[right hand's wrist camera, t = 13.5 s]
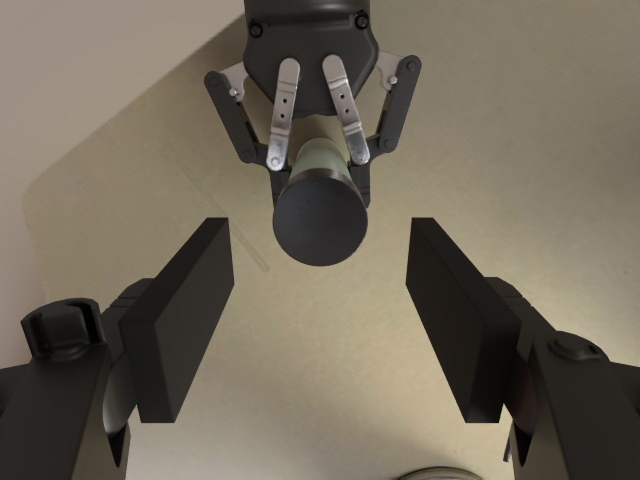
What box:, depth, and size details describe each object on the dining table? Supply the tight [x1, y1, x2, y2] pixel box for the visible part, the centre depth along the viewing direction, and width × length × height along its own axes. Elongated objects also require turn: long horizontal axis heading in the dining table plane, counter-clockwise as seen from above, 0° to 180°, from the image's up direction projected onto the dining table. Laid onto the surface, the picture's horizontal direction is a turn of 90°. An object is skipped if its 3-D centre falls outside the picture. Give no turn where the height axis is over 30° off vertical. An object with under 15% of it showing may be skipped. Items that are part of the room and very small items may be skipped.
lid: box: [273, 168, 368, 266], centre depth 19 cm, size 4×4×2 cm
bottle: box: [289, 138, 352, 181], centre depth 26 cm, size 4×4×16 cm
